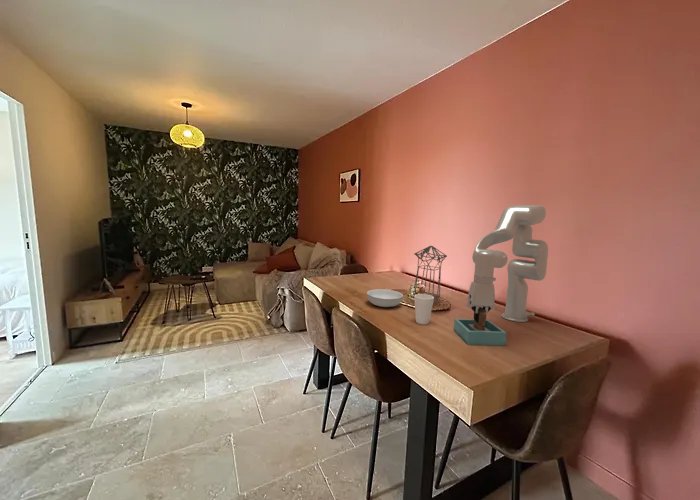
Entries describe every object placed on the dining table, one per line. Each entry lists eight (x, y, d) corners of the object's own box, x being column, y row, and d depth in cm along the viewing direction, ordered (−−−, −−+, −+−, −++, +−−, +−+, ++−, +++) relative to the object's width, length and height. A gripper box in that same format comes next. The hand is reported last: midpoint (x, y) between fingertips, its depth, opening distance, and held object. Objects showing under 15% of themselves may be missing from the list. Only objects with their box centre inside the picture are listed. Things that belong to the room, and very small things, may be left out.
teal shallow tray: (487, 331, 147) (488, 319, 146) (505, 345, 131) (506, 332, 130) (453, 330, 146) (454, 318, 145) (467, 344, 130) (468, 331, 129)
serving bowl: (362, 307, 176) (363, 295, 175) (370, 298, 196) (371, 287, 195) (399, 312, 170) (400, 300, 169) (404, 302, 190) (405, 291, 189)
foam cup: (410, 323, 154) (411, 297, 152) (415, 317, 162) (417, 293, 160) (429, 326, 149) (431, 300, 148) (434, 321, 157) (436, 296, 156)
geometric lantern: (419, 297, 202) (425, 243, 198) (443, 303, 192) (449, 246, 188) (407, 302, 190) (413, 244, 185) (432, 308, 180) (438, 247, 176)
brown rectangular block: (478, 333, 140) (480, 306, 139) (483, 337, 135) (486, 310, 134) (473, 333, 140) (475, 306, 139) (478, 337, 135) (480, 310, 134)
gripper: (497, 278, 139) (493, 319, 141) (461, 277, 139) (458, 318, 141) (505, 282, 132) (501, 325, 134) (468, 281, 131) (464, 323, 133)
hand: (479, 321), depth 137 cm, fingers closed on brown rectangular block, 2 cm apart
